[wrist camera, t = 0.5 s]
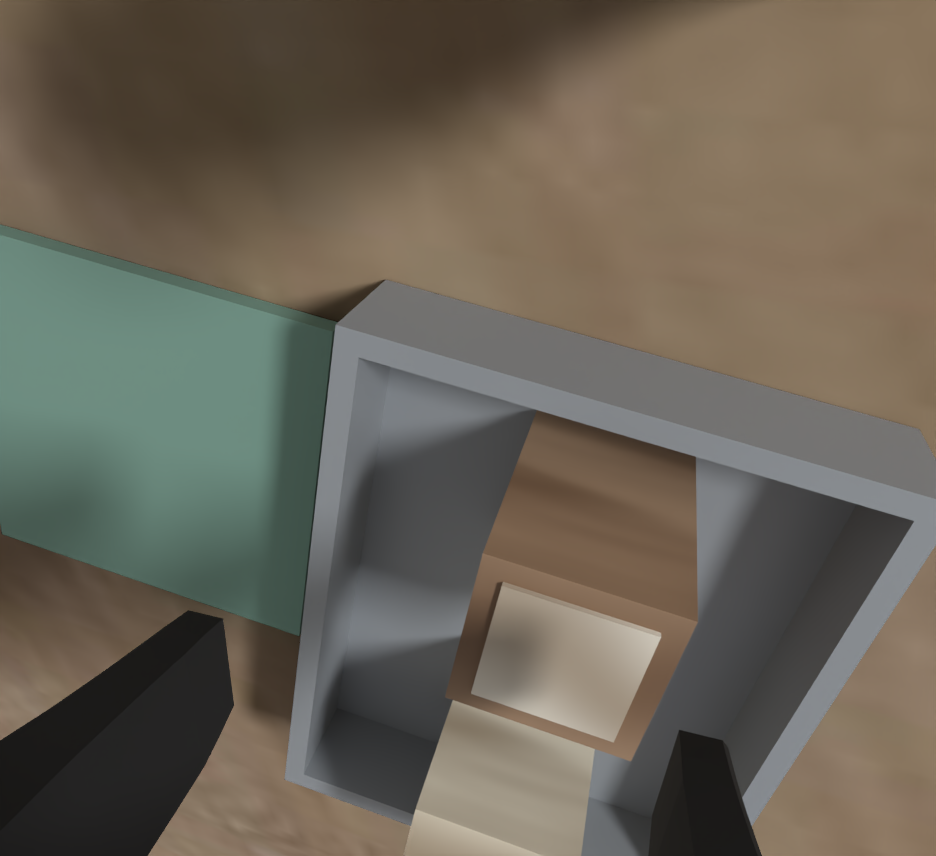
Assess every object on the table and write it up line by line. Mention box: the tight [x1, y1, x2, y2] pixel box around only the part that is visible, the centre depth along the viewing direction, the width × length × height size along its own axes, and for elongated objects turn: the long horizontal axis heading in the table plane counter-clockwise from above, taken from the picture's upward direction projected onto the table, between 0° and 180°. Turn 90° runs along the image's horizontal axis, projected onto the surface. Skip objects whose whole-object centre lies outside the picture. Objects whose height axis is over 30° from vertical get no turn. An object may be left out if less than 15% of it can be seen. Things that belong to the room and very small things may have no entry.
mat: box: [0, 225, 338, 636], centre depth 23 cm, size 11×11×1 cm
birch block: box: [403, 700, 595, 856], centre depth 22 cm, size 4×4×6 cm
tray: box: [285, 280, 936, 856], centre depth 21 cm, size 16×13×3 cm
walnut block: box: [445, 410, 698, 761], centre depth 17 cm, size 4×4×6 cm
